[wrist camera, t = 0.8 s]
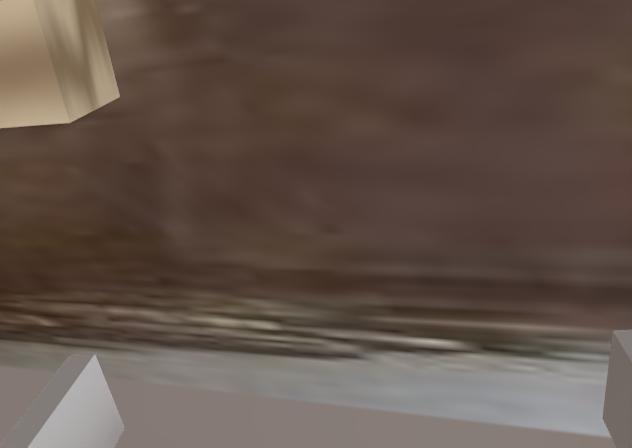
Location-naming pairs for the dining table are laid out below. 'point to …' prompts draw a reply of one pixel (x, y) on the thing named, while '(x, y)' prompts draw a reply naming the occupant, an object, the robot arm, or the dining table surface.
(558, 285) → the dining table surface
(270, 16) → the dining table surface
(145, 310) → the dining table surface
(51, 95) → the block
